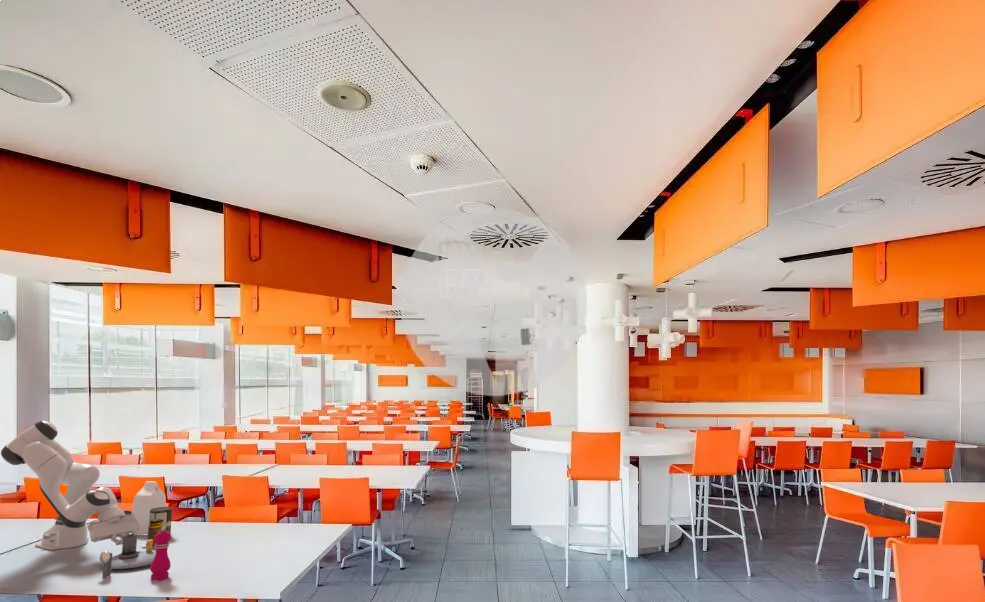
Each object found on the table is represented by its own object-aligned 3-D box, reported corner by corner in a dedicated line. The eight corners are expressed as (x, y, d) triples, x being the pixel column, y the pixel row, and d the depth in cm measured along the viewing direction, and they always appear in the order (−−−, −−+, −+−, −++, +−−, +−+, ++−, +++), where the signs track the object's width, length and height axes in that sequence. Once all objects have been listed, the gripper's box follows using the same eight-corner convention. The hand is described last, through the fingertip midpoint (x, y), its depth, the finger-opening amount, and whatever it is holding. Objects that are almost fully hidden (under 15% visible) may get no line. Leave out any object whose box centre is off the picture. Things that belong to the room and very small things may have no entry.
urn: (114, 558, 254) (116, 534, 255) (129, 553, 261) (131, 530, 262) (127, 560, 252) (129, 536, 253) (142, 555, 259) (144, 531, 260)
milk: (128, 534, 303) (133, 483, 307) (146, 528, 314) (150, 479, 318) (147, 535, 300) (151, 483, 304) (165, 529, 311) (168, 480, 315)
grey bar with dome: (97, 577, 235) (100, 551, 236) (104, 575, 238) (106, 549, 239) (106, 578, 234) (108, 552, 235) (112, 576, 237) (115, 550, 238)
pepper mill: (164, 574, 239) (168, 524, 242) (173, 577, 235) (176, 526, 238) (145, 579, 233) (149, 527, 236) (154, 582, 229) (158, 530, 232)
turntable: (87, 566, 246) (89, 552, 246) (136, 550, 268) (137, 537, 269) (132, 571, 239) (133, 556, 240) (178, 554, 262) (179, 541, 263)
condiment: (162, 545, 281) (164, 520, 283) (142, 548, 276) (144, 522, 278) (161, 542, 287) (163, 517, 289) (141, 545, 282) (143, 519, 284)
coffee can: (163, 533, 304) (165, 505, 306) (174, 536, 298) (176, 508, 300) (143, 538, 295) (145, 509, 297) (154, 541, 289) (156, 511, 291)
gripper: (89, 518, 257) (98, 544, 251) (136, 510, 274) (146, 534, 268) (83, 528, 259) (92, 554, 252) (130, 519, 276) (140, 543, 270)
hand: (120, 543), depth 260 cm, fingers closed
